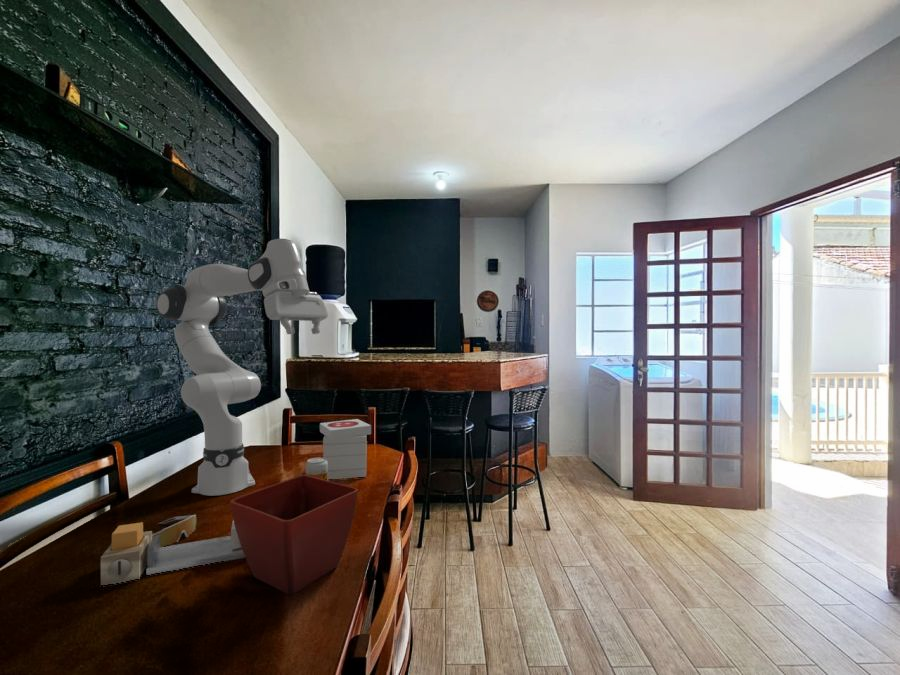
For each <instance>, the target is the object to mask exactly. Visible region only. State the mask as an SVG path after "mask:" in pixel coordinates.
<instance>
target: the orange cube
mask: <svg viewBox="0 0 900 675" xmlns="http://www.w3.org/2000/svg"><path fill="white" fill-rule="evenodd" d="M143 532H144V522H143V521H141V522H136V523H135V522H134V523H129V524H121V525H118V526H117V528H115V530H114V531H113V532H112V534H111V544H112V551H113V550H119V549H125V548H131V547H137V546H138V545H139V543H140V542H141V540H142V539H143Z"/></svg>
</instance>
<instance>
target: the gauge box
mask: <svg viewBox="0 0 900 675" xmlns="http://www.w3.org/2000/svg"><path fill="white" fill-rule="evenodd" d="M152 534H153V530H150V531H149V530H148V531H143V539H142V540H141V542H140V543H139V545H138V546H137V547H131V548H125V549H119V550H113V551H112V543H110V545H109V546H108V547H107V549H106V550H105V551H104V552H103V554H102V555H101V556H100V586H101V585H108V584H114V585H117V584H116V583H119V584H122V583H121V582H124V583H127V582H126V581H130V580H135V579H139V580H140V579H141V578H142V576H143V574H144V572H145V571H146V569H147V567H148V547H149V545H150V543H151V542H152ZM146 566H147V567H146ZM145 568H146V569H145ZM144 570H145V571H144ZM141 575H142V576H141ZM140 577H141V578H140ZM135 581H136V580H135ZM130 582H131V581H130Z"/></svg>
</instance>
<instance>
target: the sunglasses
mask: <svg viewBox="0 0 900 675" xmlns="http://www.w3.org/2000/svg"><path fill="white" fill-rule="evenodd" d="M176 520H181V521H178V522H176V523H174V524H172V525H170V526H168V527H165V528H163V529H161V530H159V531H157V532H155V533H152V540H153V538H154V537H155V536H157V535H160V547H164V546H167V545H169V546H171V545H170V544H172V545H174V544H173V543H175V542H177V543H178V542H179V540H180V538H181V537H182V536H183V537H184V538H185V537H187V538H189V537H190V536H191V535H192V534H193V533H194V532H195V531H196V526H197V515H196V514H193V515H184V516H183V515H182V516H174V517H171V518H168V519H166V520H163V521H162V522H159V523H158V524H162V525H164V524H167V523H170V522H173V521H176ZM194 530H195V531H194ZM192 532H193V533H192ZM190 534H191V535H190ZM189 535H190V536H189ZM175 544H176V543H175Z"/></svg>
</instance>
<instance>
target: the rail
mask: <svg viewBox="0 0 900 675" xmlns="http://www.w3.org/2000/svg"><path fill="white" fill-rule="evenodd" d="M240 559H246V557H245V555H244V552H243V550H242V547H241V548H236V549H232V542H231V535H227V536H220V537H215V538H209V539H202V540H197V541H190V542H184V543H180V544H172V545H169V546H166V547H160V535H157V536H155V537H154V538H153V540H152V542H151V543H150V545H149V547H148V565H147V567H146V569H145V571H146V574H145V575H150V576H152V575H151V574H155V573H160V574H162V573H161V572H166V571H171V572H174V571H173V570H176V571H180V570H179V569H182V570H184V569H183V568H187V569H190V568H189V567H192V568H194V567H193V566H198V565H203V566H206V565H205V564H208V565H211V564H210V563H214V564H216V563H215V562H219V563H222V562H221V561H224V562H229V560H230V561H235V560H240ZM198 567H199V566H198ZM166 573H167V572H166ZM155 575H156V574H155Z"/></svg>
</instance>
